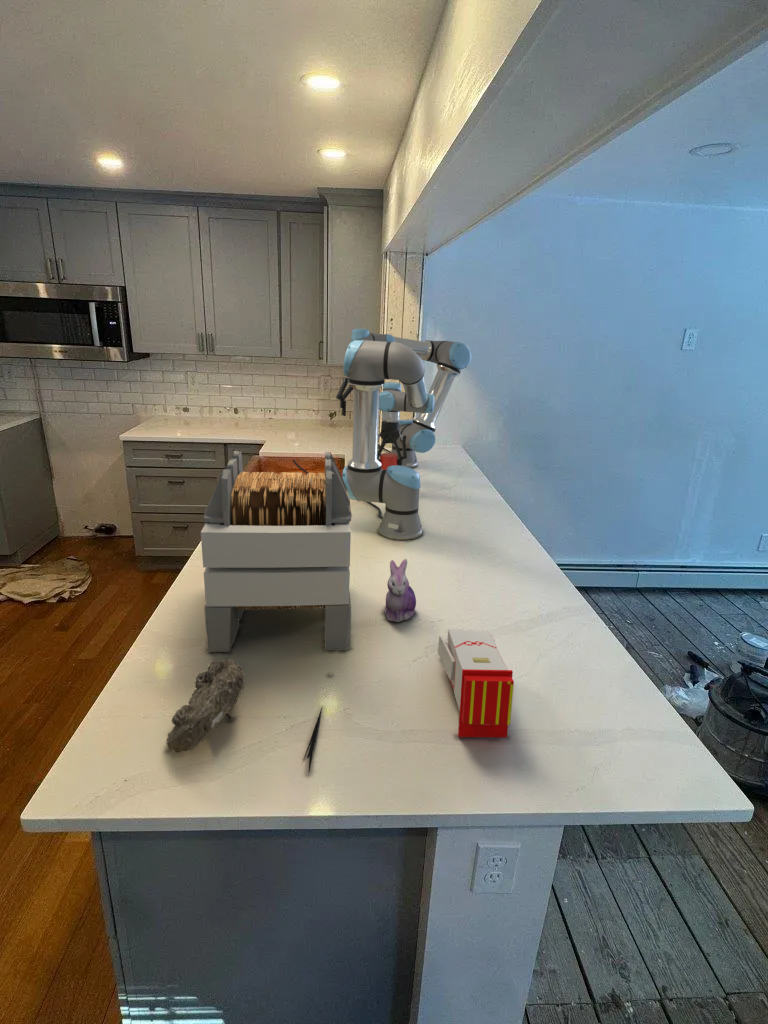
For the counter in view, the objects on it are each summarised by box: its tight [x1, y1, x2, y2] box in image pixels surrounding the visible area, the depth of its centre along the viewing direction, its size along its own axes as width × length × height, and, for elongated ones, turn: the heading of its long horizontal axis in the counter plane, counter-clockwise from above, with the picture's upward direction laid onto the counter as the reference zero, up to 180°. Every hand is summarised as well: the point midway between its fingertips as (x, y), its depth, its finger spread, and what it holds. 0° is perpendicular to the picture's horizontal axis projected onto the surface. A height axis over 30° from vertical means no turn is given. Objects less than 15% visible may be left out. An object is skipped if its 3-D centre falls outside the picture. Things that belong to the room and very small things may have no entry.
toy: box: [437, 628, 515, 738], centre depth 117 cm, size 12×13×30 cm
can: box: [379, 452, 398, 470], centre depth 240 cm, size 8×8×11 cm
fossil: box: [166, 658, 245, 754], centre depth 106 cm, size 22×10×15 cm
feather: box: [301, 673, 332, 771], centre depth 108 cm, size 2×28×2 cm
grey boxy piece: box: [200, 450, 353, 653], centre depth 138 cm, size 34×33×41 cm
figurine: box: [384, 558, 417, 623], centre depth 145 cm, size 9×10×15 cm
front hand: (388, 474), depth 241 cm, fingers closed on can, 8 cm apart
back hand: (358, 415), depth 253 cm, fingers open, 13 cm apart
